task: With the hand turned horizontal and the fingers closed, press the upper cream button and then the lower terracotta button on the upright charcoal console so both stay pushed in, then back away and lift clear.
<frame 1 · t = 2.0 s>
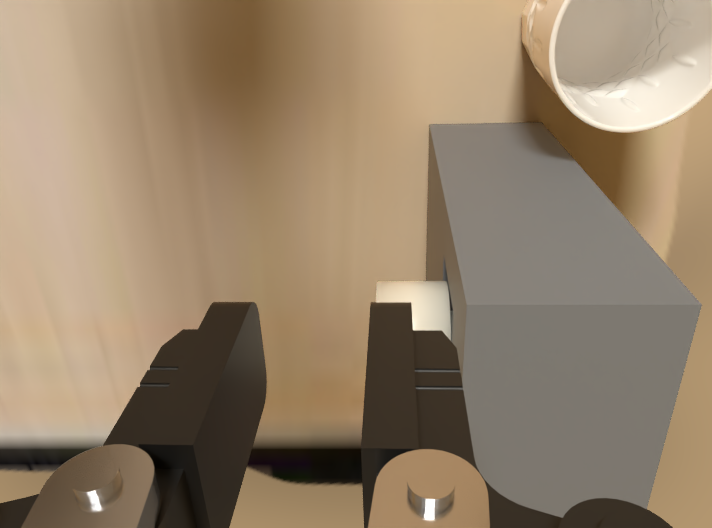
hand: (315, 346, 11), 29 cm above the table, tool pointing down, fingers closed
white cup: (578, 20, 35), on the table
button console: (426, 264, 43), on the table
cream button: (446, 331, 26), point 16 cm above the table, slide at 0.0 cm
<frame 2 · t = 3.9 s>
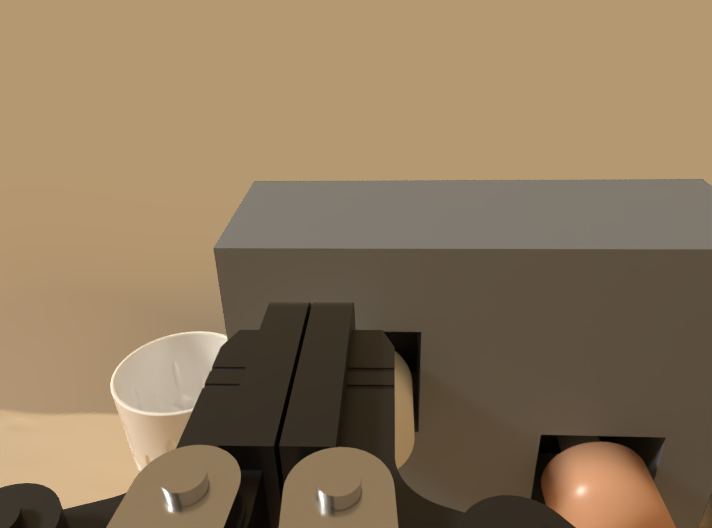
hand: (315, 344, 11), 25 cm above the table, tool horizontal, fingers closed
white cup: (206, 492, 40), on the table
terracotta button: (593, 480, 26), point 11 cm above the table, slide at 0.0 cm
cream button: (357, 383, 24), point 16 cm above the table, slide at 0.0 cm
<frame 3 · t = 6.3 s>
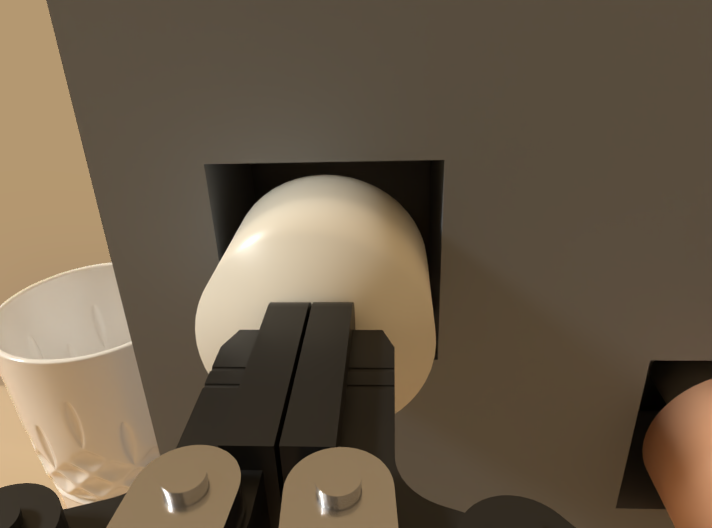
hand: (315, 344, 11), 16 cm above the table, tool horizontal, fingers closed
white cup: (141, 483, 29), on the table
cream button: (329, 267, 14), point 16 cm above the table, slide at 0.1 cm, touching gripper
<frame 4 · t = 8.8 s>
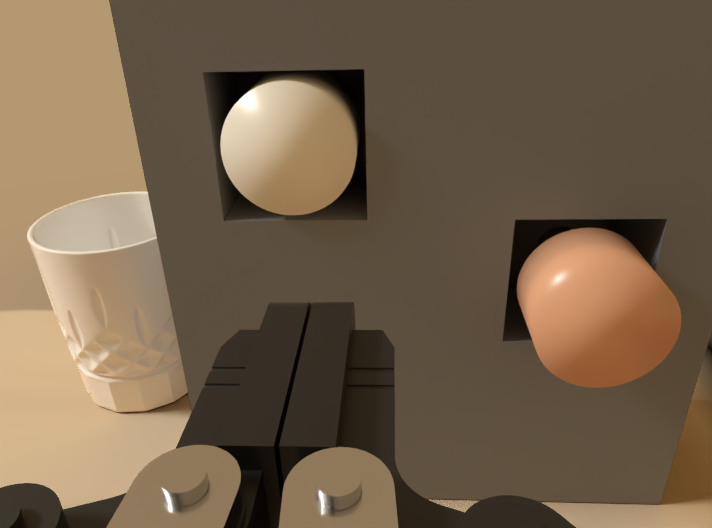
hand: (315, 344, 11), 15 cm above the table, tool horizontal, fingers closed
white cup: (149, 377, 35), on the table
terracotta button: (579, 284, 21), point 11 cm above the table, slide at 0.0 cm
button console: (429, 498, 27), on the table
cream button: (300, 127, 22), point 16 cm above the table, slide at 2.7 cm
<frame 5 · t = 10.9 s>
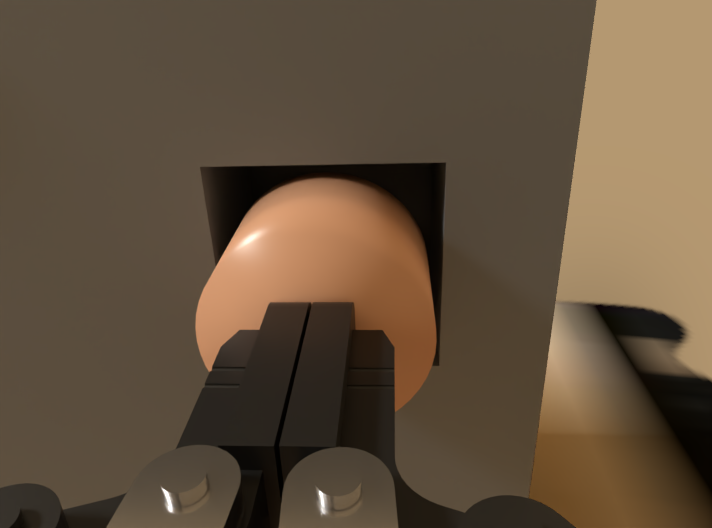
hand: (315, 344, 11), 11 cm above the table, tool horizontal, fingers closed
terracotta button: (330, 265, 14), point 11 cm above the table, slide at 0.4 cm, touching gripper
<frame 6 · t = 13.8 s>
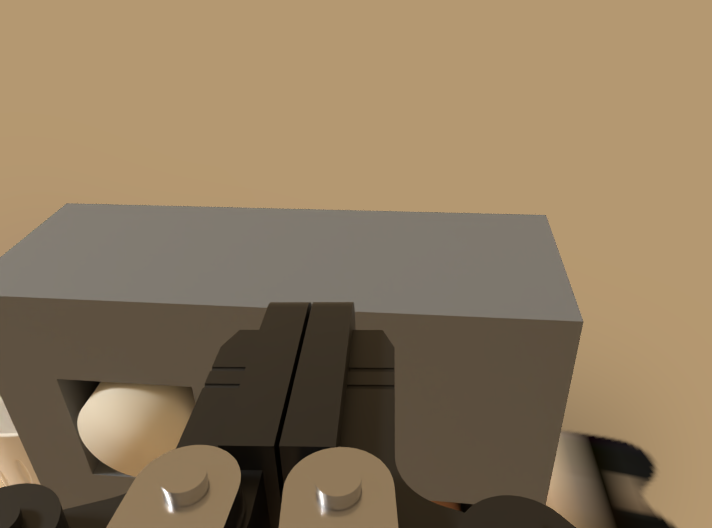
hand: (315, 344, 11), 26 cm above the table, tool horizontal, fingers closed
white cup: (88, 500, 39), on the table
terracotta button: (408, 483, 26), point 11 cm above the table, slide at 2.7 cm
cream button: (166, 383, 25), point 16 cm above the table, slide at 2.7 cm
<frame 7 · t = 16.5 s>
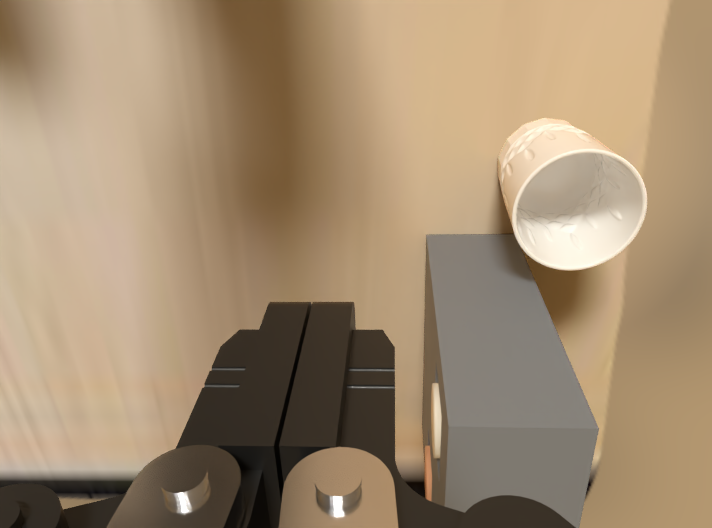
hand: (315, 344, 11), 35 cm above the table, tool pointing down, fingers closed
white cup: (541, 161, 45), on the table
terracotta button: (466, 476, 45), point 11 cm above the table, slide at 2.7 cm
button console: (424, 338, 53), on the table
cream button: (483, 420, 36), point 16 cm above the table, slide at 2.7 cm
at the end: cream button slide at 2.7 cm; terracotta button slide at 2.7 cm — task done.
